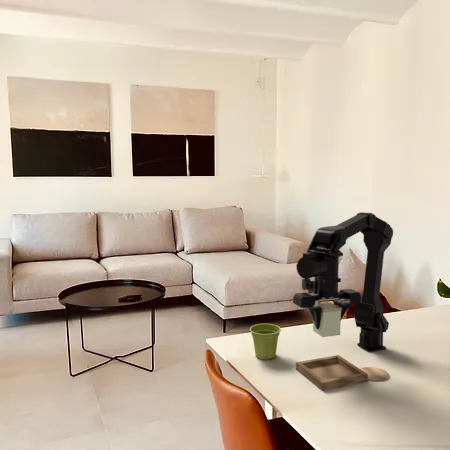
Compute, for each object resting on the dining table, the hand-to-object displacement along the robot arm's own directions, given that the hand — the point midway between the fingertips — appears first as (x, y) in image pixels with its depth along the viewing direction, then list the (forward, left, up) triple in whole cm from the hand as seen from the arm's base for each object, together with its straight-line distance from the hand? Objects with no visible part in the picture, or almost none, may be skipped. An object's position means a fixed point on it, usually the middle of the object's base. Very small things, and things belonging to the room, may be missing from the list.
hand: (326, 327), depth 135 cm
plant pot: (+12, -15, -12) cm, 23 cm away
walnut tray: (+1, +4, -12) cm, 13 cm away
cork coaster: (-10, +8, -12) cm, 17 cm away
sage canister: (0, 0, -2) cm, 2 cm away
